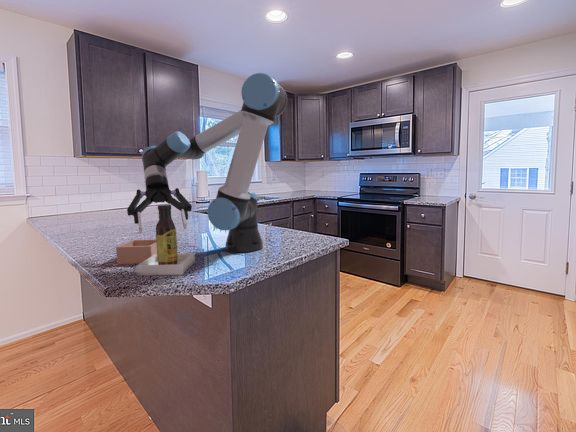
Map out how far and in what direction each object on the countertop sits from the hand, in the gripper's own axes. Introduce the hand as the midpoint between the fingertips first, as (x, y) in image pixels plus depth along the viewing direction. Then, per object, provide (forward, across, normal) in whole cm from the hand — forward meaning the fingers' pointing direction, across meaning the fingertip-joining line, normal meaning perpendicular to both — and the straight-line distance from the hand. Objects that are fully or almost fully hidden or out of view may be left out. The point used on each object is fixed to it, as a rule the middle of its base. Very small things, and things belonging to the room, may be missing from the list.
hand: (163, 228), depth 102 cm
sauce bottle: (+9, -1, -8) cm, 12 cm away
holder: (-2, +7, -21) cm, 22 cm away
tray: (+10, 0, -8) cm, 13 cm away
